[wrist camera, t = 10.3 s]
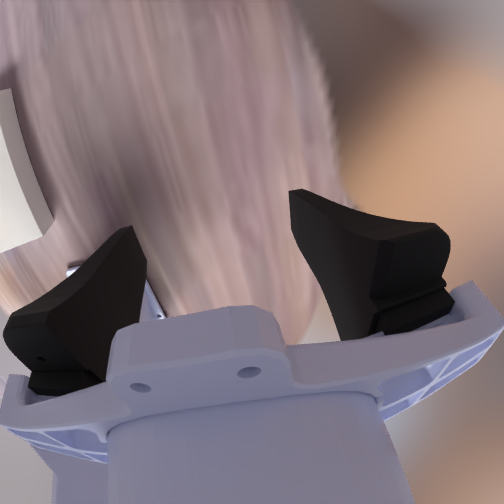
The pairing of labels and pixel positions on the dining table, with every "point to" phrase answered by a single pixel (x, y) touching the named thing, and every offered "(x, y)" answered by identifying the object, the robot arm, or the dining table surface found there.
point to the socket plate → (18, 184)
